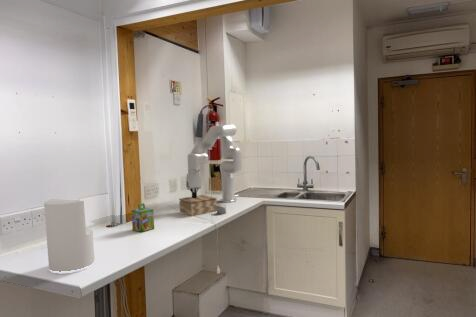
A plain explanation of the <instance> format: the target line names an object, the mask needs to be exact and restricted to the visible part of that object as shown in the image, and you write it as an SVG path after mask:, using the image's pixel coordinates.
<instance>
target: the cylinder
mask: <svg viewBox="0 0 476 317" xmlns="http://www.w3.org/2000/svg"><path fill="white" fill-rule="evenodd" d="M43 206H44V207H43V208H44V218H45V219H44V220H45V222H44V223H45V231H46V235H45V236H46V245H47V257H48V258H47V260H48V270H49V269H50V270H52V271H59V272H61V271H71V270H77V269H81V268H84V267H86V266H89V265H91V264H92V263H93V262H94V260H96V259H95V246H94V233H93V232H94V231H93V229H91V228H87V227H86V213H85V212H86V211H85V200H76V199H75V200H74V199H73V200H70V199H47V200H45V201H44V202H43Z"/></svg>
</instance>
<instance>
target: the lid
mask: <svg viewBox="0 0 476 317" xmlns="http://www.w3.org/2000/svg"><path fill="white" fill-rule="evenodd" d="M178 200H179V201H184V202H187V203H190V204H195V203H200V202H206V201H211V200H216V201H217V197H213V196H209V195H206V194H199V195H197V198H192V196H188V197H181V198H179V199H178Z"/></svg>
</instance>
